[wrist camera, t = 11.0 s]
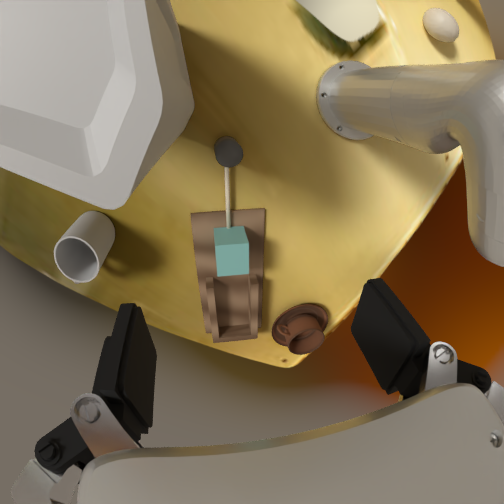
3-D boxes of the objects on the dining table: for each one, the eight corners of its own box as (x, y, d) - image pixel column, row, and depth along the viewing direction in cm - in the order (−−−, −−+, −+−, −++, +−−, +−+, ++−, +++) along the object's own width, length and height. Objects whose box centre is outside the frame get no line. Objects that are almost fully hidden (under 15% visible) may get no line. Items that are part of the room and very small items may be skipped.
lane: (190, 213, 40) (189, 222, 37) (264, 208, 41) (268, 217, 38) (206, 331, 52) (206, 344, 50) (260, 326, 54) (264, 338, 51)
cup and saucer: (265, 341, 57) (271, 363, 52) (276, 299, 51) (284, 322, 46) (315, 338, 60) (324, 358, 54) (332, 298, 54) (343, 318, 48)
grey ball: (442, 49, 29) (467, 49, 24) (415, 32, 28) (441, 29, 22) (442, 22, 26) (466, 20, 20) (415, 4, 25) (440, -1, 19)
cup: (121, 219, 38) (104, 247, 31) (107, 269, 42) (92, 303, 34) (81, 203, 36) (57, 228, 28) (71, 254, 39) (51, 285, 32)
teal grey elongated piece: (209, 136, 34) (209, 142, 29) (242, 135, 35) (248, 140, 30) (215, 256, 43) (217, 276, 39) (243, 254, 44) (249, 273, 39)
